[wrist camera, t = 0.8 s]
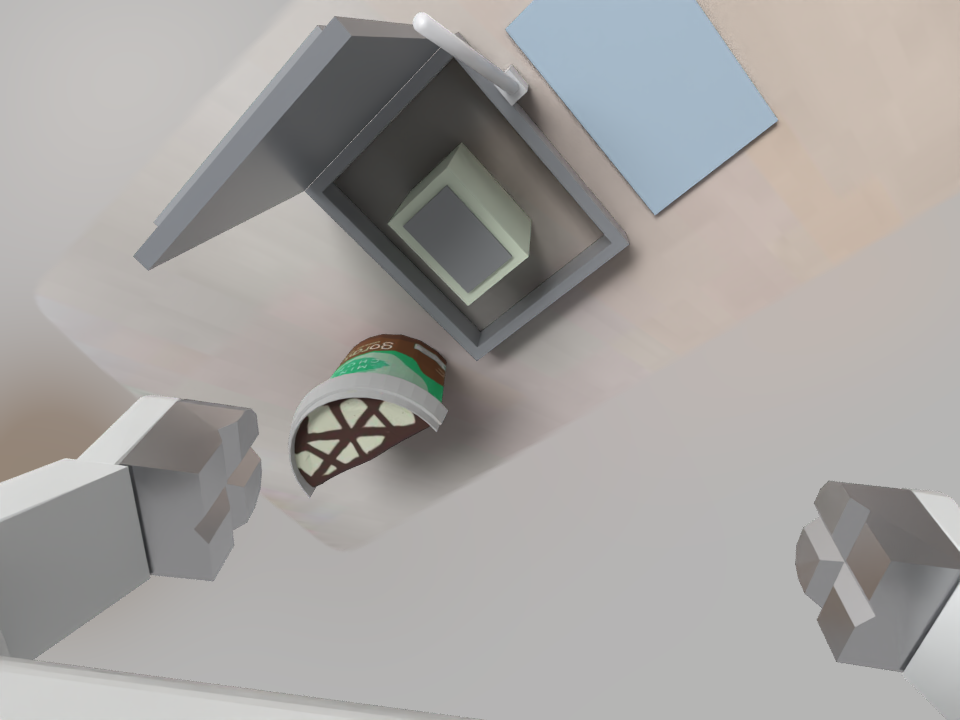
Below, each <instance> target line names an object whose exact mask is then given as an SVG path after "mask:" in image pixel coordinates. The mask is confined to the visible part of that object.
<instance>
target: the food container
mask: <svg viewBox="0 0 960 720" xmlns="http://www.w3.org/2000/svg"><path fill="white" fill-rule="evenodd" d="M446 364H447V362H446V360H445V359H444V358H443V357H442V356H441V355H440V354H439V353H438V352H437V351H436V350H434V349H433V348H431V347H430V346H428V345H426V344H425V343H423V342H422V341H420V340H417V339H414V338H410V337H407V336H404V335H393V334H382V335H378V336H374V337H370V338H368V339H366V340H364V341H362V342H360V343H359V344H358V345H356V346H355V347H354V348H353V349H352V350H351V351H350V352H349V354H348V355H347V356H346V358H345V359H344V360H343V362H342V363H341V364H340V366H339V367H338V368H337V370H336V371H335V372H334V374H333V375H332V376H331V378H330V379H329V380H327V381H325V382H323V383H321V384H319V385H318V386H316V387H315V388H314V389H312V390H311V391H310V392H309V393H308V394H307V395H306V396H305V397H304V398H303V399H302V401H301V403H300V404H299V406H298V408H297V409H296V412H295V415H294V418H293V421H292V425H291V430H290V435H289V442H288V446H289V459H290V464H291V468H292V472H293V474H294V476H295V479H296V481H297V482H298V484H299V485H300V487H301V489H302V490H303V491H304V492H305V494H306V495H307V496H308V497H309V498H310V497H311V495H312V493H313V492H314V490H315V488H316V486H318V485H321V484H323V483H324V482H325V481H327V480H329V479H330V478H332V477H334V476H336V475H338V474H340V473H342V472H344V471H346V470H349V469H351V468H353V467H356V466H358V465H361V464H363V463H365V462H367V461H370V460H371V459H373V458H375V457H377V456H378V455H380V454H381V453H383V452H385V451H386V450H388V449H389V448H391V447H393V446H395V445H396V444H398V443H400V442H401V441H403V440H405V439H407V438H409V437H411V436H413V435H414V434H416V433H418V432H420V431H422V430H424V429H426V428H428V427H430V426H431V427H432V428H433V429H434V430H435V431H436V432H437V431H438V428H439V425H441V424H442V423H443V421H444V419H445V416H446V414H447V412H448V410H447V409H446V408H445V406H444V405H443V404H442V396H443V388H444V380H445V372H446Z"/></svg>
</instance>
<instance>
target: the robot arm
mask: <svg viewBox="0 0 960 720" xmlns="http://www.w3.org/2000/svg"><path fill="white" fill-rule="evenodd" d="M258 435H259V431H258V422H257V415H256V413H255V412H254V411H253V410H252V409H251V408H244V407H238V406H231V405H224V404H217V403H210V402H203V401H196V400H189V399H181V398H175V397H166V396H158V395H147V396H142V397H141V398H140V399H139V400H138V401H136V402H135V403H134V404H133V405H132V406H131V407H130V408H129V409H128V410H127V411H126V412H125V413H124V414H123V415H122V416H121V417H120V418H119V419H118V420H117V421H116V422H115V423H114V424H113V425H112V426H111V427H110V428H109V429H108V430H107V431H105V432H104V433H103V434H102V435H101V436H100V437H99V439H97V440H96V441H95V442H94V443H93V444H92V445H91V446H90V447H89V448H88V449H87V450H86V451H85V452H84V453H83V454H82V455H81V456H80V457H79V458H78V459H77V460H75V459H66V458H65V459H62V460H59V461H57V462H54V463H51V464H49V465H46V466H43V467H41V468H38V469H36V470H33V471H30V472H28V473H25V474H22V475H20V476H17V477H15V478H12V479H9V480H7V481H4V482H1V483H0V720H481V719H474V718H467V717H460V716H452V715H444V714H436V713H429V712H422V711H414V710H407V709H398V708H391V707H384V706H377V705H369V704H362V703H354V702H347V701H346V702H345V701H339V700H331V699H323V698H316V697H308V696H301V695H293V694H286V693H279V692H271V691H264V690H256V689H248V688H241V687H234V686H226V685H219V684H211V683H203V682H195V681H189V680H181V679H173V678H166V677H158V676H151V675H143V674H136V673H128V672H120V671H113V670H106V669H98V668H90V667H83V666H76V665H68V664H60V663H53V662H45V661H38V660H34V659H35V658H37V657H38V656H39V655H41V654H42V653H44V652H45V651H47V650H48V649H49V648H51V647H52V646H54V645H55V644H57V643H58V642H59V641H61V640H62V639H64V638H65V637H67V636H68V635H70V634H71V633H72V632H74V631H75V630H76V629H78V628H80V627H81V626H83V625H84V624H85V623H87V622H88V621H90V620H91V619H93V618H94V617H95V616H97V615H98V614H100V613H101V612H102V611H104V610H105V609H107V608H108V607H110V606H111V605H113V604H114V603H116V602H117V601H118V600H120V599H121V598H123V597H124V596H126V595H127V594H129V593H130V592H131V591H133V590H134V589H136V588H137V587H139V586H140V585H141V584H143V583H144V582H146V581H147V580H149V579H150V575H158V576H167V577H177V578H187V579H197V580H206V581H214V580H215V578H216V576H217V574H218V572H219V571H220V569H221V567H222V566H223V564H224V562H225V560H226V559H227V557H228V555H229V553H230V552H231V550H232V548H233V546H234V538H233V530H235V529H236V528H238V527H240V526H242V525H243V524H245V523H247V522H248V520H249V518H250V516H251V514H252V512H253V510H254V508H255V506H256V502H257V499H258V495H259V492H260V488H261V477H262V468H261V459H260V457H259V456H258V455H257V454H256V453H255V451H254V450H253V449H252V448H251V445H252V444H253V442H254V441H255V439H256V438H257V436H258ZM814 504H815V506H816V509H817V511H818V514H819V517H818V518H816V519H815V520H813V521H812V522H810V523H809V524H807V525H806V526H804V527H803V530H802V532H801V535H800V537H799V540H798V542H797V545H796V561H795V565H796V570H797V575H798V579H799V582H800V584H801V586H802V588H803V591H804V593H805V594H806V595H807V596H808V597H810V598H811V599H812V600H813V601H814V602H815V603H817V604H818V605H819V606H820V607H821V608H822V609H821V612H820V614H819V616H818V618H817V621H818V623H819V626H820V628H821V630H822V632H823V634H824V636H825V639H826V641H827V643H828V645H829V647H830V649H831V651H832V653H833V655H834V658H835V660H836V662H840V663H846V664H853V665H859V666H865V667H872V668H878V669H885V670H891V671H897V672H903V674H902V676H903V677H904V678H905V679H906V680H907V681H908V682H909V683H910V684H911V685H912V686H913V687H914V688H915V689H916V690H917V691H918V692H919V693H920V694H921V695H922V696H923V697H924V698H926V700H927V701H928V702H929V703H930V704H931V705H932V706H933V707H934V708H935V709H936V710H937V711H938V712H939V713H941V715H942V716H943V717H945V718H946V719H947V720H960V507H959V506H958V505H957V504H956V503H955V502H954V500H953V499H952V498H951V497H949V496H947V495H945V494H943V493H942V492H939V491H929V490H917V489H907V488H902V489H898V488H889V487H881V486H872V485H863V484H854V483H853V484H852V483H845V482H835V481H828V482H827V483H826V484H825V485H824V486H823V487H822V488H821V489H820V491H819V493H818V495H817V498H816V500H815V502H814Z"/></svg>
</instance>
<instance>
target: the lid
mask: <svg viewBox="0 0 960 720" xmlns="http://www.w3.org/2000/svg"><path fill="white" fill-rule="evenodd" d="M439 48H440V47H439V46H438V45H436V44H435V43H433V42H432V41H430V40H429V39H427V38H426V37H424V36H423V35H421V34H420V33H418V32H417V31H416V30H415V29H414V27H413V25H410V24H401V23H392V22H383V21H374V20H364V19H355V18H346V17H337V16H335V17H334V18H333V19H332V20H331V21H330V23H329V24H328V25H327V26H323V25H317V26H316V27H315V29H314V30H313V31H312V32H311V33H310V35H309V36H308V37H307V38H306V40H305V41H304V42H303V43H302V44H301V46H300V47H299V48H298V49H297V50H296V52H295V53H294V54H293V55H292V56H291V58H290V59H289V60H288V61H287V62H286V64H285V65H284V66H283V67H282V68H281V70H280V71H279V72H278V73H277V74H276V76H275V77H274V78H273V79H272V80H271V82H270V83H269V84H268V85H267V86H266V88H265V89H264V90H263V91H262V92H261V94H260V95H259V96H258V97H257V98H256V100H255V101H254V102H253V103H252V104H251V106H250V107H249V108H248V109H247V110H246V112H245V113H244V114H243V115H242V116H241V118H240V119H239V120H238V121H237V122H236V124H235V125H234V126H233V127H232V128H231V130H230V131H229V132H228V133H227V134H226V136H225V137H224V138H223V139H222V140H221V142H220V143H219V144H218V145H217V146H216V148H215V149H214V150H213V151H212V152H211V154H210V155H209V156H208V157H207V158H206V160H205V161H204V162H203V163H202V164H201V166H200V167H199V168H198V169H197V170H196V172H195V173H194V174H193V175H192V176H191V178H190V179H189V180H188V181H187V182H186V184H185V185H184V186H183V187H182V188H181V190H180V191H179V192H178V193H177V195H176V196H175V197H174V198H173V199H172V201H171V202H170V203H169V204H168V205H167V207H166V208H165V209H164V210H163V211H162V213H161V214H160V215H159V216H158V217H157V219H156V220H155V221H154V223H155V224H156V225H157V226H158V227H157V228H156V230H155V231H154V232H153V233H152V234H151V236H150V237H149V238H148V239H147V240H146V242H145V243H144V244H143V245H142V246H141V247H140V249H139V250H138V251H137V252H136V253H135V255H134V256H133V257H134V258H135V259H136V260H138V261H139V262H140V263H141V264H142V265H143V266H144V267H145V268H146V269H147V270H150V269H152V268H154V267H156V266H158V265H160V264H162V263H164V262H166V261H168V260H170V259H172V258H174V257H176V256H178V255H180V254H182V253H184V252H186V251H188V250H190V249H192V248H194V247H195V246H197V245H199V244H201V243H203V242H205V241H207V240H209V239H211V238H213V237H215V236H217V235H219V234H221V233H223V232H225V231H227V230H229V229H231V228H233V227H235V226H237V225H239V224H241V223H243V222H245V221H246V220H248V219H250V218H252V217H254V216H256V215H258V214H260V213H262V212H264V211H266V210H268V209H270V208H272V207H274V206H276V205H278V204H280V203H282V202H284V201H286V200H288V199H290V198H292V197H294V196H295V195H297V194H299V193H301V192H303V191H305V190H306V189H307V188H308V186H309V185H310V184H311V183H312V182H313V181H314V180H315V179H316V178H317V177H318V176H319V175H320V174H321V173H322V172H323V171H324V170H325V169H326V167H327V166H328V165H329V164H330V163H331V162H332V161H333V160H334V159H335V158H336V157H337V156H338V155H339V154H340V153H341V152H342V151H343V150H344V148H345V147H346V146H347V145H348V144H349V143H350V142H351V141H352V140H353V139H354V138H355V137H356V136H357V135H358V134H359V133H360V132H361V130H362V129H363V128H364V127H365V126H366V125H367V124H368V123H369V122H370V121H371V120H372V119H373V118H374V117H375V116H376V115H377V114H378V113H379V111H380V110H381V109H382V108H383V107H384V106H385V105H386V104H387V103H388V102H389V101H390V100H391V99H392V98H393V97H394V96H395V95H396V94H397V92H398V91H399V90H400V89H401V88H402V87H403V86H404V85H405V84H406V83H407V82H408V81H409V80H410V79H411V78H412V77H413V76H414V74H415V73H416V72H417V71H418V70H419V69H420V68H421V67H422V66H423V65H424V64H425V63H426V62H427V61H428V60H429V59H430V58H431V57H432V55H433V54H434V53H435V52H436V51H437V50H438V49H439Z"/></svg>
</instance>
